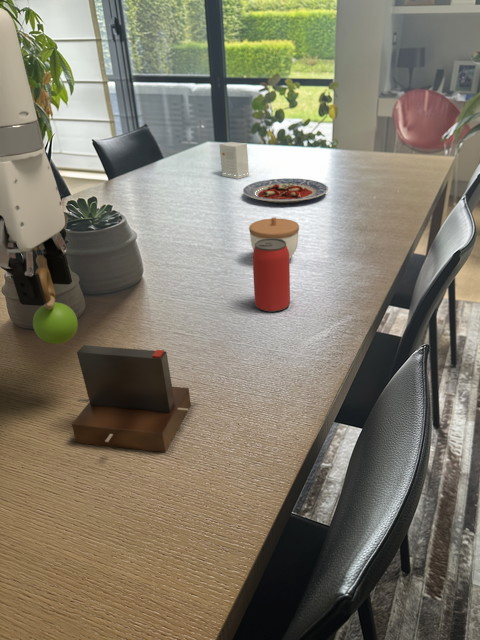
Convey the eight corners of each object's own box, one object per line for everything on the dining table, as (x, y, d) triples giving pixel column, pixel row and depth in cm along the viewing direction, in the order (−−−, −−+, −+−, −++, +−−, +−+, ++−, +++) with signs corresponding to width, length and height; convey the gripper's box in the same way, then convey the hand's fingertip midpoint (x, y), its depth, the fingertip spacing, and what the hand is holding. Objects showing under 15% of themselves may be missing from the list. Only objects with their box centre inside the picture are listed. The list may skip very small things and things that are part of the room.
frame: (90, 405, 72) (76, 350, 67) (96, 397, 73) (83, 343, 69) (170, 412, 70) (161, 357, 65) (174, 404, 71) (166, 349, 67)
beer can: (253, 299, 105) (250, 238, 99) (287, 296, 106) (286, 235, 99) (256, 314, 100) (252, 250, 93) (292, 311, 100) (291, 248, 94)
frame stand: (54, 454, 68) (48, 434, 66) (108, 387, 81) (104, 368, 79) (170, 468, 66) (167, 447, 64) (207, 395, 78) (205, 377, 76)
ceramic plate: (314, 210, 153) (315, 200, 152) (230, 204, 161) (229, 194, 159) (337, 187, 174) (337, 178, 172) (260, 183, 181) (260, 174, 180)
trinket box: (303, 266, 119) (303, 223, 114) (254, 270, 117) (251, 227, 112) (294, 249, 128) (293, 209, 122) (248, 253, 126) (246, 212, 121)
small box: (249, 176, 190) (247, 143, 185) (237, 179, 187) (235, 146, 181) (233, 173, 195) (230, 141, 189) (221, 176, 191) (219, 143, 186)
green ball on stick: (81, 325, 77) (60, 242, 70) (82, 347, 72) (60, 259, 65) (39, 332, 75) (14, 248, 69) (38, 355, 70) (11, 266, 64)
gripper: (19, 128, 68) (55, 267, 78) (-81, 157, 54) (-22, 322, 63) (75, 128, 67) (105, 269, 76) (-13, 158, 52) (37, 326, 62)
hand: (47, 292), depth 70 cm, fingers closed on green ball on stick, 5 cm apart
